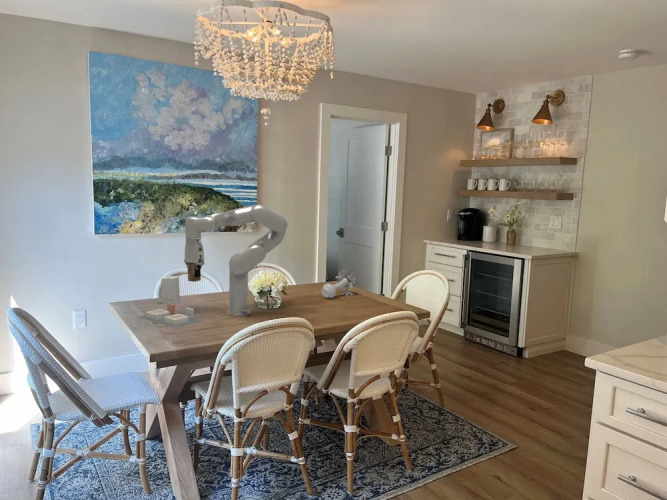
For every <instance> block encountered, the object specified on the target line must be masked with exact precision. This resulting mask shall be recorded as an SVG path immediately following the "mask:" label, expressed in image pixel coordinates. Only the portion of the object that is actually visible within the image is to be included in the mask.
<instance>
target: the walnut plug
mask: <svg viewBox="0 0 667 500" xmlns="http://www.w3.org/2000/svg"><path fill="white" fill-rule="evenodd" d="M197 266H198V264H197ZM195 269H196V268H195V264H194V263H188V268H187V281H188V282H200V281H201V280H202V275H201V276H200V277H195ZM201 270H202V268H201V269H200V271H201ZM201 272H202V271H201Z"/></svg>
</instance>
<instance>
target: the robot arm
mask: <svg viewBox="0 0 667 500" xmlns="http://www.w3.org/2000/svg"><path fill="white" fill-rule="evenodd" d="M184 219H185V220H184V221H185V223H184V224H185V225H184V228H185V244H184V260H183V262H184V263H185V265H186V269H188V263H194V264H195V268H196V269H195V277H200V276H201V277H202V274H201V272H202V271H200V269H201V270H202V268H203V266H204V265H205V253H204V246H203V244H202V232H212V231H214V230H215V229H219V228H224V227H228V226H229V227H230V226H232V227H236V226H242V225H246V224H250V223H255V222H257V223H258V224H260V225H262V226H264V227H265V228H267V229H269V230H268V232H266V234H264V235H263V236H262V237H260V238H258V239H257V240H255V241H254V242H252V243H251V244H250V245H249V246H247V249H245V250H244V251H242V252H240V253H236V254H233V255H232V256H231V257H230V258H229V261H228V266H229V268H228V271H229V273H228V274H229V275H228V276H229V277H228V278H229V280H228V281H229V283H228V284H229V287H228V288H229V297H228V300H229V302H228V303H229V305H228V306H229V307H228V308H229V309H228V310H226V314H228V315H234V316H241V317H244V316H245V317H246V316H248V315H250V314H251V313H252V311H253V309H252V308H250V305H248V304H249V303H248V302H249V300H248V299H249V297H248V296H249V295H248V294H249V293H248V292H249V287H248V286H249V271H250V270H252V269H254V268H255V267H257V266H258V265H259V264H261V263H262V262H263V261H264V260H265V258H266V256H267V254H269V253H270V252H271V251H273V250H274V249H275V248H277V247H278V246H279V245H281V243H282V241H284V240H283V239H284V238H285V235H286V230H287V228H288V221H287V219H286V218H285V217H283V216H282V215H281V214H278V213H276V212H274V211H272V210H271V209H269V208H267V207H266V206H265V205H263V204H261V203H260V204H253V205H248V206H243V207H240V208H234V209H231V210H227V211H223V212H217V213H214V214H209V215H205V216H203V217H201V216H200V217H199V216H196V215H195V216H193V215H192V216H187V217H185V218H184ZM197 264H198V266H197Z"/></svg>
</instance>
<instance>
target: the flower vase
mask: <svg viewBox="0 0 667 500" xmlns="http://www.w3.org/2000/svg"><path fill="white" fill-rule="evenodd" d="M351 270H352V268H351V269H349V268H348V267H345V268H344V269H339V272H338V275H336V276H335V277H334V278H335V279H336V280H337V281H336V283H335V284H331V283H325V284H324V285H323V286H322V288H321V295H322V296H323V297H324V298H326V299H327V298H328V299H333V298H334V297H335V296H336V292H337V290H338V289H339V290H343V289H344V292H342V293H341V295H345V296H349V295H351V296H354V294H353V292H350V291H349V290H350V289H353V285H355V284H356V281H355V280H356V279H357V278H356V276H354V275H355V273H354V271H352V272H351V273H350V272H349V271H351ZM348 272H349V273H350V274H349V273H348Z"/></svg>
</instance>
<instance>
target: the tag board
mask: <svg viewBox="0 0 667 500" xmlns="http://www.w3.org/2000/svg"><path fill="white" fill-rule="evenodd" d="M138 318H140V319H143V320H147V321H150V322H152V323H153V322H154V323H156V324H161V325H165V326H168V327H171V328H174V329H177V328H180V327H185V326H187V325H192V324H195V323H199V322H202V321H203V320H202V319H199V318H194V319H192V320H191V319H189V317H188V316H186V314H185V315H184V314H179V313H176V312H175V314H174V315H172V314H170V312H169V311H167V310H164V309H161V308H158V309H154V310H149V311H146V313H145V315H144V314H143V315H139V316H138Z"/></svg>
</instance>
